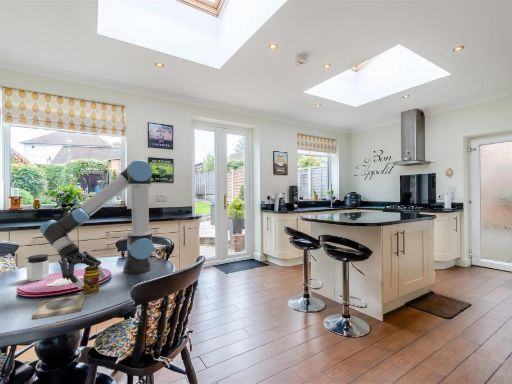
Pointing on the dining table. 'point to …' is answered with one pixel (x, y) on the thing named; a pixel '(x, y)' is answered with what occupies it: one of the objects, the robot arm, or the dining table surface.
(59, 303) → the board
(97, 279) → the condiment
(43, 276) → the jar
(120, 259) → the dining table surface
